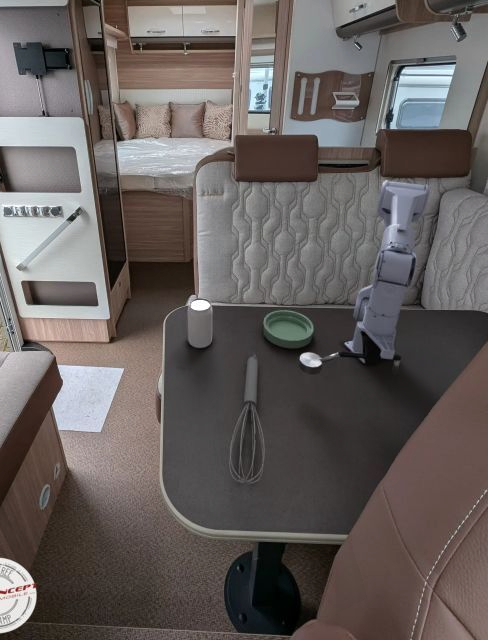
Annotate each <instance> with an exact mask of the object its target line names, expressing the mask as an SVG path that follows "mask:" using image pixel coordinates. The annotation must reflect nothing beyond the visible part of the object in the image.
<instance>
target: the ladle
mask: <svg viewBox="0 0 488 640" xmlns="http://www.w3.org/2000/svg"><path fill="white" fill-rule="evenodd" d="M338 358H350V359H351V358H352V359H359V358H365V353H363V352H351V351H348V350H347V351H345V350H339V351H338V352H335V353H331V354H330V355H326V356H324V357H321V356H320V355H318V354H316V353H314V352H303V353H301V355H300V356H299V360H298V361H299V363H298V367H299V369H300V370H301V371H302V372H304V373H305V374H308V375H316V374H320V372H322V369H323V364H325V363H327V362H330V361H333V360H336V359H338ZM401 360H402V356H401V355H400V354H394V356H393V359H385V358H381V359H380V361H394V362H393V365H392V370H391V371H392V373H393V374H397V373H398V371H399V368H400V367H399V366H400V363H401Z"/></svg>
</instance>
